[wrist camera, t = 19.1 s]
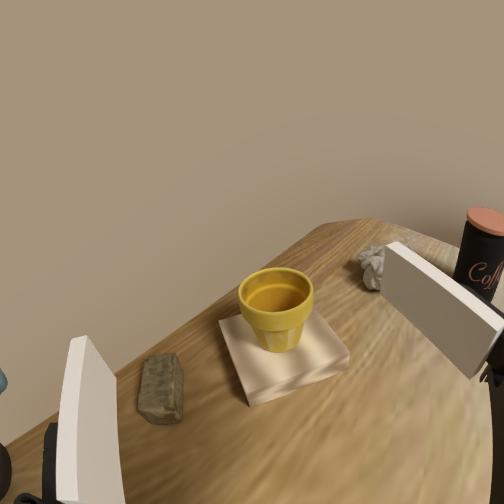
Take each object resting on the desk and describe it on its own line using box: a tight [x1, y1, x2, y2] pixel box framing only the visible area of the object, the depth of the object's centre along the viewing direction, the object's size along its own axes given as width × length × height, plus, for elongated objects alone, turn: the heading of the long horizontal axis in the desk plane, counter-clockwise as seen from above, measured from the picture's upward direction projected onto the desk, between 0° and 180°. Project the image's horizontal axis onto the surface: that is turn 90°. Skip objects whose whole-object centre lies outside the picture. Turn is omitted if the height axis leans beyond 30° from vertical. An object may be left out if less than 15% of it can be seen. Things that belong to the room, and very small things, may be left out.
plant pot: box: [238, 268, 313, 353], centre depth 42 cm, size 10×10×10 cm
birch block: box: [219, 306, 350, 407], centre depth 45 cm, size 16×16×4 cm
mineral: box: [356, 242, 415, 290], centre depth 55 cm, size 12×17×10 cm
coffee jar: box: [453, 207, 504, 303], centre depth 44 cm, size 11×11×18 cm
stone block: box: [137, 353, 183, 425], centre depth 40 cm, size 6×12×5 cm, turn 8°
